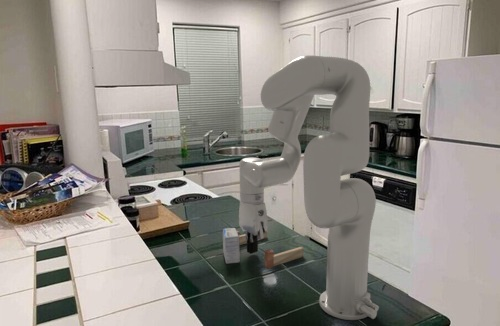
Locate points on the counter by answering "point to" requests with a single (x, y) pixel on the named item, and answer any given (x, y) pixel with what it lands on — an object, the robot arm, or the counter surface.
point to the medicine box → (231, 245)
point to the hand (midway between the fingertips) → (252, 251)
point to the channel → (278, 258)
